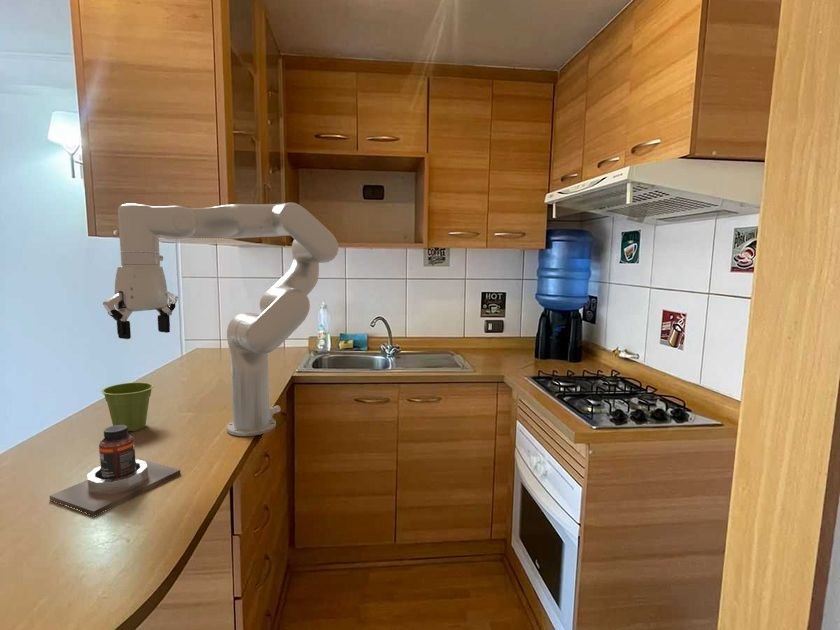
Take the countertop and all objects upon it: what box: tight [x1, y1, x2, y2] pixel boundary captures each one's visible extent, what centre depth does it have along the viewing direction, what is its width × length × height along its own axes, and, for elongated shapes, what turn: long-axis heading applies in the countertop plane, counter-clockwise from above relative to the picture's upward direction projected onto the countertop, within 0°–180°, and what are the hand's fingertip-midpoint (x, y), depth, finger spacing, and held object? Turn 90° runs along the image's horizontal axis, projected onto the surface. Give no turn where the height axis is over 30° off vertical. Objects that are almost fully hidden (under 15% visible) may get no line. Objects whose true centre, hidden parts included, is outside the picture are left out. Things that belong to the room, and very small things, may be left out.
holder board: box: [49, 458, 181, 517], centre depth 94 cm, size 18×13×1 cm
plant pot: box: [100, 381, 155, 432], centre depth 124 cm, size 12×12×11 cm
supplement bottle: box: [98, 425, 136, 479], centre depth 93 cm, size 6×6×11 cm
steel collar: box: [86, 458, 148, 495], centre depth 94 cm, size 10×10×2 cm
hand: (145, 335), depth 106 cm, fingers open, 9 cm apart
